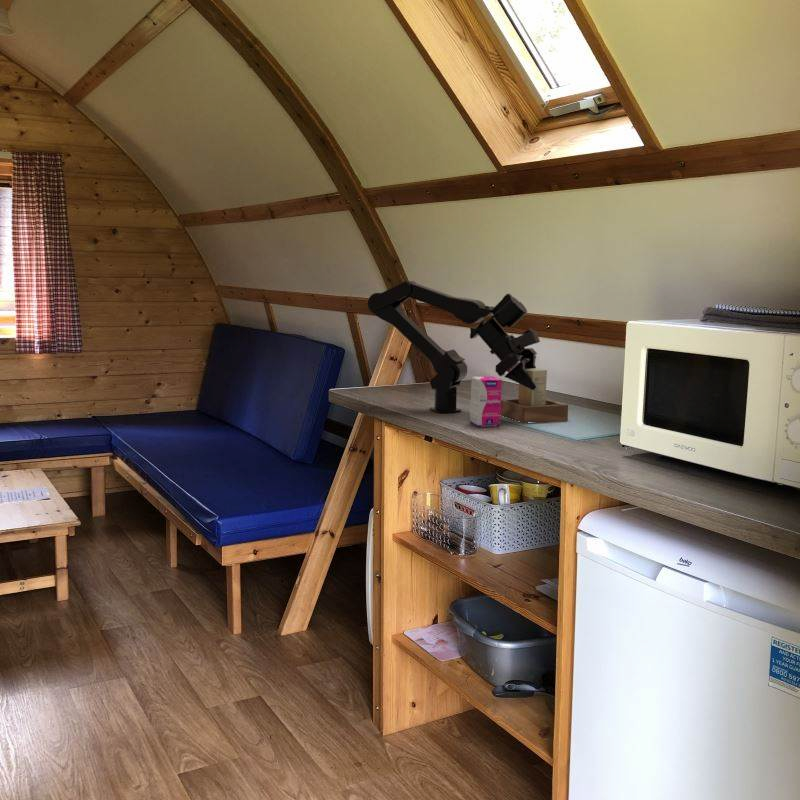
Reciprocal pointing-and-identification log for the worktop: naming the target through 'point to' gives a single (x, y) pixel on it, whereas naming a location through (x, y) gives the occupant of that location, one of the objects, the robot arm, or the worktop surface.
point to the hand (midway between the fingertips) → (538, 386)
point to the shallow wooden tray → (534, 411)
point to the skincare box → (539, 393)
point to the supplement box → (485, 401)
